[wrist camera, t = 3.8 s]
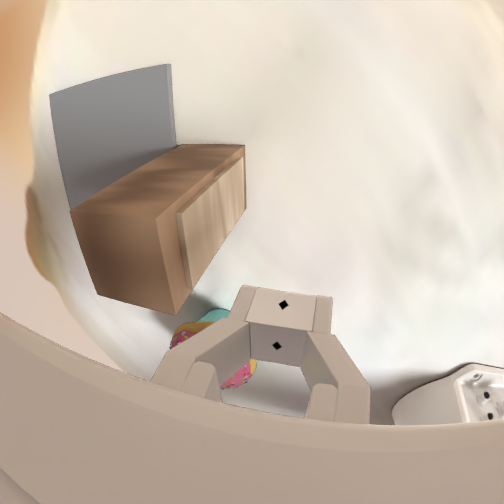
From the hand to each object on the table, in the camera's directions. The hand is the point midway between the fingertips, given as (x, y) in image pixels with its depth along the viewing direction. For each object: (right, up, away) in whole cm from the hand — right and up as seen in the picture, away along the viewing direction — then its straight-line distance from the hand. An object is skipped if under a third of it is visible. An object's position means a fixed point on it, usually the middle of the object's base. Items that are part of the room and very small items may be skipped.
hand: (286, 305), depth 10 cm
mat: (-14, +9, +15) cm, 22 cm away
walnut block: (-4, +8, +12) cm, 15 cm away
